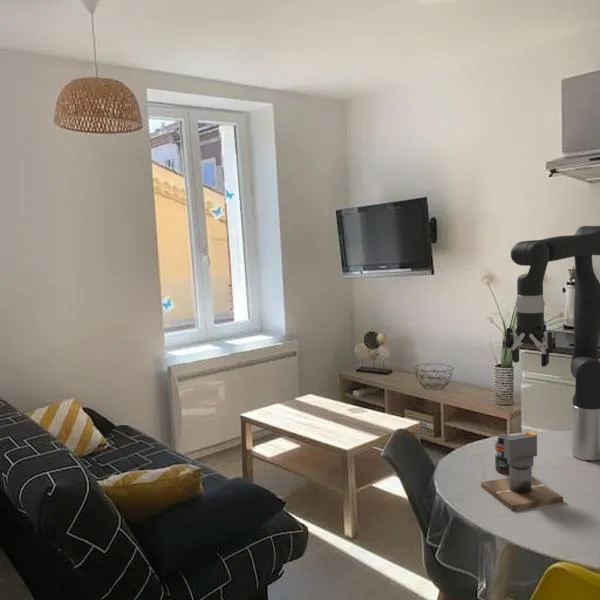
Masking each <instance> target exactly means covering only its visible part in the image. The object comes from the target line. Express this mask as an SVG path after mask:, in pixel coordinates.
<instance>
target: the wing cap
mask: <svg viewBox="0 0 600 600" xmlns="http://www.w3.org/2000/svg"><path fill="white" fill-rule="evenodd" d="M534 457H538V434H537V433H535V432H533V431H531V430H529V431H525V433H521V434H514V435H510V436H508V437H504V458H506V459H507V460H508V464H509V465H510V466H513V467H516V468H530V467H532V468H533V467H534Z"/></svg>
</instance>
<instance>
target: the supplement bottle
mask: <svg viewBox="0 0 600 600" xmlns="http://www.w3.org/2000/svg"><path fill="white" fill-rule="evenodd" d="M508 436H511V435H510V434H506V433H505V434H503V433H501V434H498V435H497V441H496V442H495V444H494V461H495V462H494V464H495V466H494V469H495V470H496V471H497V473H498V472H499V473H500V474H510V471H509V464H508V460H507V459H506V458H504V437H508Z"/></svg>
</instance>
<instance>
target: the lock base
mask: <svg viewBox="0 0 600 600" xmlns="http://www.w3.org/2000/svg"><path fill="white" fill-rule="evenodd" d="M532 469H533V466H532V467H530V468H516V467H513V466H510V465H509V471H510V473H509V477H503V478H498V479H494V480H493V479H492V480H486V481H485V480H484V481H481V482H480V488H482V489H483V488H484V489H483V490H485V492H486V493H488V494H489V495H491V496H492V497H494V498H495V499H496V500H497V501H499V502H500V503H501V504H502V505H504V506H505V507H506V506H507V507H508V508H507V507H506V508H507V509H509V510H510V509H511V510H514V511H518V510H517V509H520V510H524V509H525V508H526V509H529V508H530V507H531V508H537V507H542V506H548V505H553V504H559V503H563V502H564V496H563V495H561V494H559V493H558V492H556V491H555V490H554V489H551V488H550V487H549V486H547V485H546V484H544V483H543V482H541V481H539V480H538V479H536V478H534V477H533V475H532V473H533V472H532V471H533V470H532ZM511 510H510V511H511Z"/></svg>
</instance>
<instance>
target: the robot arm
mask: <svg viewBox="0 0 600 600" xmlns="http://www.w3.org/2000/svg"><path fill="white" fill-rule="evenodd" d="M593 256H600V225H582V226H580V227H578V228H577V230H576V232H575V233H574V235H573V234H572V235H558V236H553V237H552V236H550V237H547V238H543V239H535V240H522V241H519V242H516V244H514V245H513V246H512V247H511V251H510V258H511V260H512V261H513V263H514V264H516V265H519V266H522V267H523V266H524V267H525V266H527V267H529V269H528V272H527V273H524V274H520V275H519V276H518V277H517V281H516V282H517V283H516V285H517V286H516V287H517V288H516V292H517V293H516V294H517V296H516V302H515V303H516V306H515V307H516V309H515V310H516V328H514V327H513V326H511V327H507V328H506V329H505V330H506V332H505V347H506V348H509V349H510V350H511V360H512V361H513V363H519V362H520V349H519V348H520V347H521V346H522V345H532V346H536V347H537V349H538V350H540V352H541V355H540V356H541V357H540V358H541V360H540V361H541V362H540V363H541V367H543V368H544V367H547V366H548V364H550V354H552V353H554V352H556V350H557V346H556V345H557V344H556V332H555V330H550V331H545V328H544V327H545V326H544V325H545V302H544V301H545V300H544V278H545V274H546V271H547V268H548V267H547V266H548V264H549V262H551V263H552V262H555V261H561V260H565V259H569V258H574V268H575V271H574V273H575V274H574V275H575V276H574V277H575V278H574V279H575V284H574V285H575V286H574V289H575V290H574V298H573V299H574V301H573V302H574V304H573V330H574V331H573V333H574V334H573V335H574V336H573V337H574V338H573V340H574V341H573V348H572V355H571V361H570V374H571V375H572V377H573V378H574V379H575V385H574V386H575V387H574V388H575V389H574V391H575V392H574V395H573V396H572V433H571V434H572V440H571V441H572V442H571V444H572V445H571V446H572V448H571V452H572V453H571V455H572V456H573V457H574V458H576V459H578V460H581V461H587V460H590V461H589V462H596V460H598V461H600V360H599V359H600V358H599V340H600V281H599V279H598V278H597V275H596V273H595V271H594V265H593ZM515 335H516V336H517V337H518V338H517V339H516V340H515V341H514V337H515ZM544 337H545V338H546V339H547V343H546V341H545V340H544Z"/></svg>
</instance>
